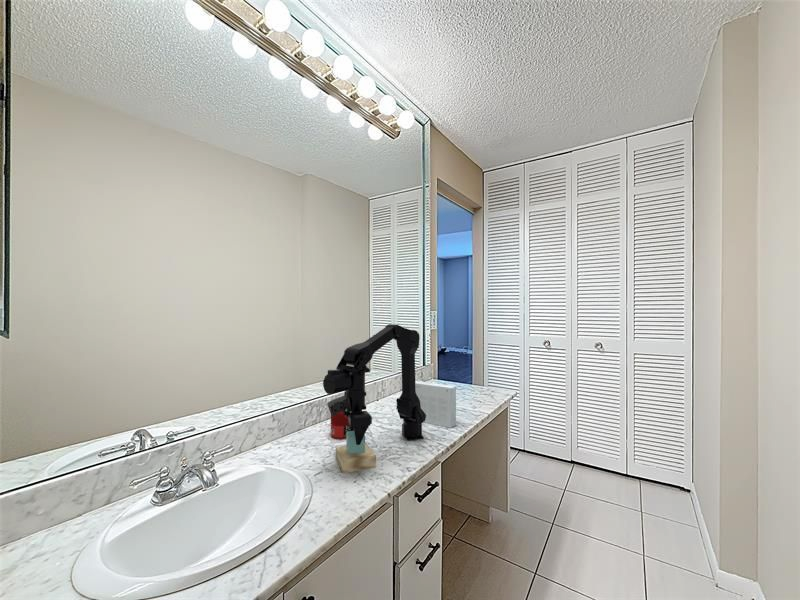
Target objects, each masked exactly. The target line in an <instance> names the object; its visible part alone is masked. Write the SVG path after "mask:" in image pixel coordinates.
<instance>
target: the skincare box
mask: <svg viewBox="0 0 800 600" xmlns="http://www.w3.org/2000/svg"><path fill="white" fill-rule="evenodd" d="M415 388H416V394H417V396H418V398H419V400H420V405H421V409H422V410H423V412H424V413H425V414H426V419H425V421H424V422H423V424H429V425H435V426H439V427H444V428H448V429H452V428H453V427H456V424H457V420H456V419H457V386H456V385H449V384H441V383H434V382H428V381H427V382H426V381H420V380H415Z"/></svg>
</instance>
